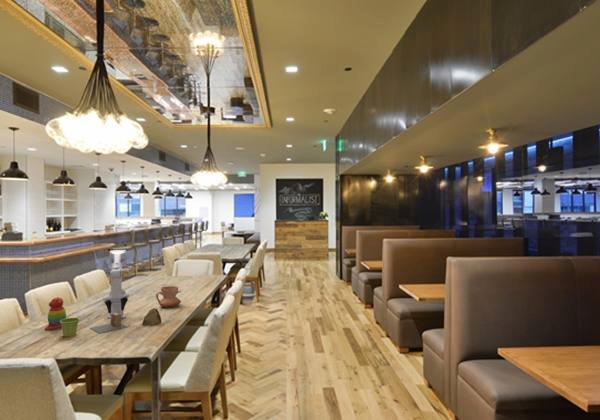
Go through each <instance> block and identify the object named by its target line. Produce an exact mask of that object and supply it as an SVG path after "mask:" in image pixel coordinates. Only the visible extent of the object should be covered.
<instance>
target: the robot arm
mask: <svg viewBox="0 0 600 420" xmlns="http://www.w3.org/2000/svg"><path fill="white" fill-rule="evenodd" d="M126 261H127V250H126V249H119V250H118V249H117V250H111V249H110V251H109V263H110V264H111V270H110V272H109V276H110V277H109V278H110V291H109V294H108V295H109V296H108V297H103V299H102V302H103V303H104V304H105V306H106V308H107V313H109V315H108V316H107V318H108V319H111V314H113V313H119V314H121V319H123V318H126V317H127V316H126V315H125V314H124V313H125V312H124V310H125V306H126V304H127V302H128V300H129V298H130V295H129V294H127V292H126V290H125V289H123V288H122V279H123V264H125V263H126Z"/></svg>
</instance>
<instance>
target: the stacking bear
mask: <svg viewBox="0 0 600 420" xmlns="http://www.w3.org/2000/svg"><path fill="white" fill-rule="evenodd" d="M63 305H64V299H63V298H61V297H59V296H57V297H54V298H52V300H51V301H49V303H48V306H49V307H50V308H49V309H48V315H47V322H48V325H47V326H45V328H44V331H47V332H48V331H54V330H60V329H62V325H61V322H60V321H61V320H63V319H66V318H67V312H66V308H65V307H64V306H63Z"/></svg>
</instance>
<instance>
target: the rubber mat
mask: <svg viewBox="0 0 600 420" xmlns="http://www.w3.org/2000/svg"><path fill="white" fill-rule="evenodd" d="M124 328H129V326H128V325H126V324H123V323H121V326H120V327H113V326H111V322H110V323H106V324H105V323H104V324H101V325H98V326H93V327H90V328H89V330H92V331H94V332H95V333H98V334H104V333H108V332H113V331H117V330H121V329H124Z"/></svg>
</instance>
